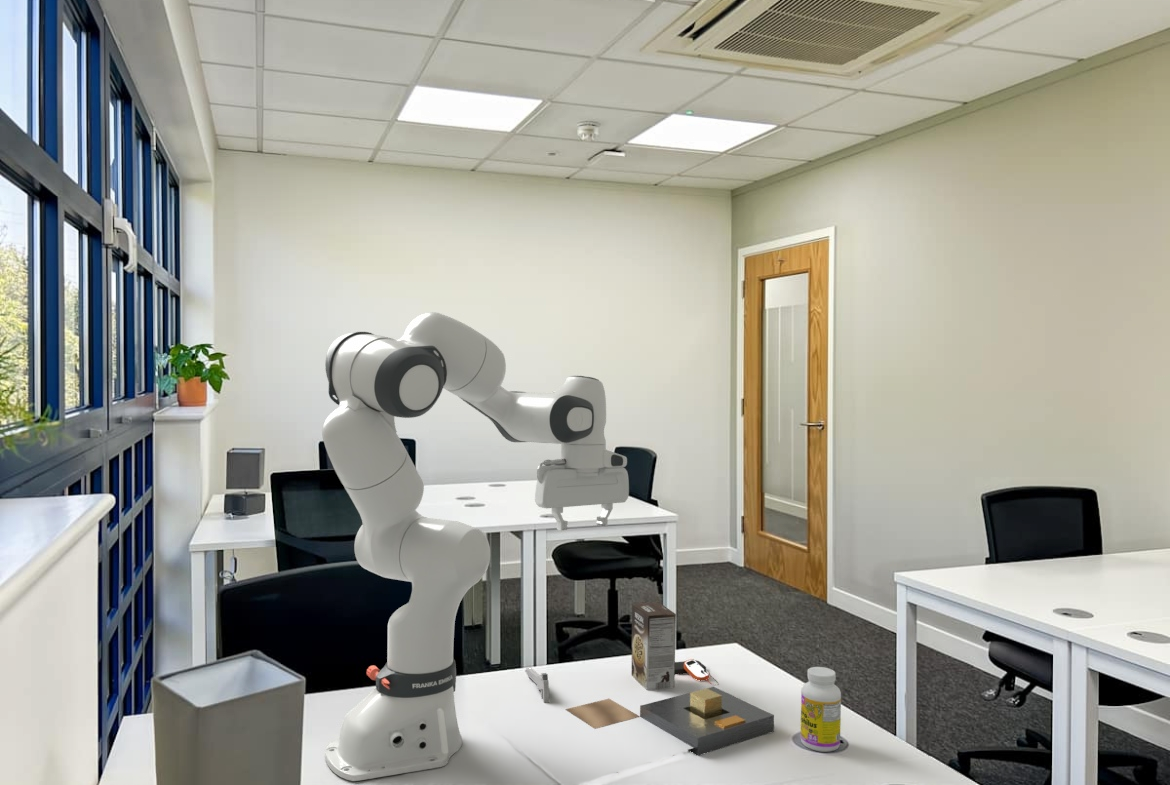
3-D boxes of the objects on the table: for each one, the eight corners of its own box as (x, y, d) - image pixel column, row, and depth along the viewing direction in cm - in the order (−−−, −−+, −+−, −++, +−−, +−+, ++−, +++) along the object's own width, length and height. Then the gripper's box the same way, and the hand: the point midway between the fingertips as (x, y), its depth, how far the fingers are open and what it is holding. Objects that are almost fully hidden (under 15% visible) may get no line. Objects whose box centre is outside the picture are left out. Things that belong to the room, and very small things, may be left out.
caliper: (549, 709, 157) (549, 676, 157) (543, 709, 157) (544, 676, 157) (529, 671, 177) (530, 642, 177) (524, 672, 177) (525, 643, 176)
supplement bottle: (793, 738, 145) (794, 666, 144) (826, 734, 146) (828, 663, 146) (812, 755, 138) (814, 679, 138) (847, 751, 140) (849, 676, 140)
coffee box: (629, 679, 172) (630, 603, 172) (658, 676, 174) (659, 601, 174) (646, 695, 163) (647, 615, 163) (675, 692, 165) (676, 612, 165)
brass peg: (704, 733, 146) (705, 700, 146) (689, 725, 150) (690, 692, 150) (721, 728, 149) (721, 695, 148) (706, 720, 152) (706, 688, 152)
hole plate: (697, 755, 137) (697, 736, 137) (639, 721, 151) (640, 704, 151) (773, 731, 147) (774, 713, 147) (713, 701, 161) (713, 685, 161)
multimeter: (748, 696, 165) (748, 679, 165) (691, 699, 163) (691, 682, 163) (718, 666, 183) (718, 651, 183) (665, 669, 180) (666, 653, 180)
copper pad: (594, 734, 145) (594, 728, 145) (565, 714, 154) (565, 709, 154) (639, 721, 151) (640, 716, 151) (608, 703, 159) (608, 698, 159)
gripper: (545, 461, 154) (544, 534, 154) (633, 457, 165) (632, 526, 165) (529, 458, 159) (528, 529, 159) (615, 455, 170) (614, 521, 170)
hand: (582, 527), depth 162 cm, fingers open, 8 cm apart
